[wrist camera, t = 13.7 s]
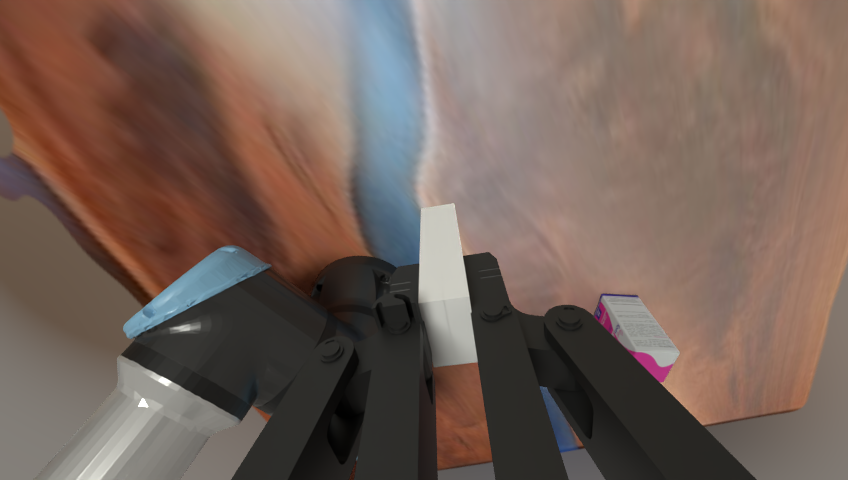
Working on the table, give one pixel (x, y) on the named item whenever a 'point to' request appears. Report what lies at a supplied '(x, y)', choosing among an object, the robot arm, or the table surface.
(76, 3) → the table surface
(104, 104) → the table surface
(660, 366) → the supplement box
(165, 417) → the robot arm
